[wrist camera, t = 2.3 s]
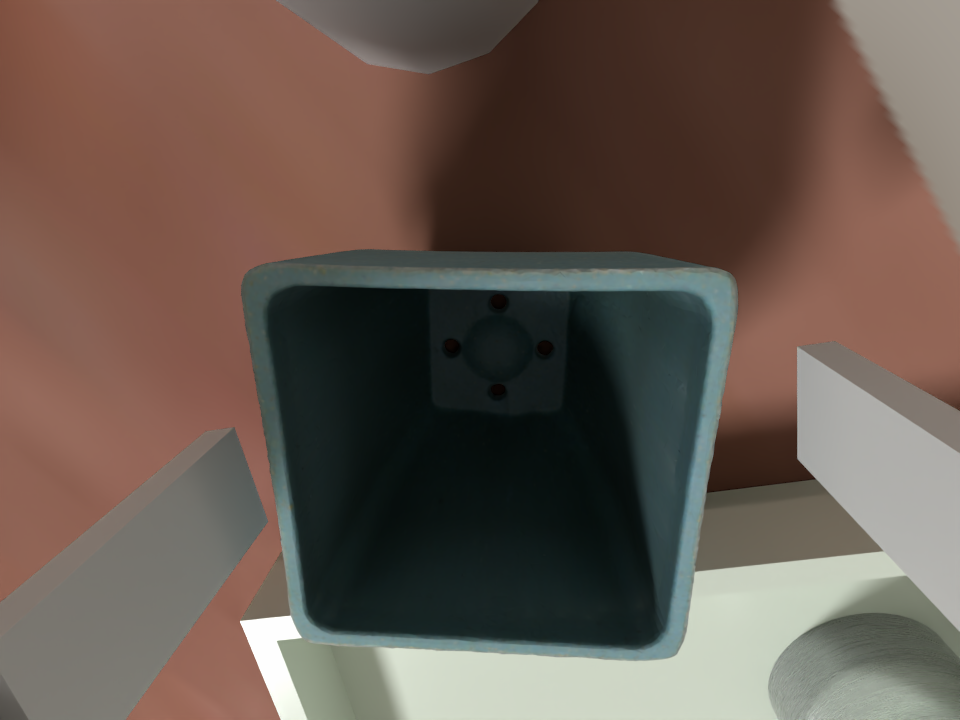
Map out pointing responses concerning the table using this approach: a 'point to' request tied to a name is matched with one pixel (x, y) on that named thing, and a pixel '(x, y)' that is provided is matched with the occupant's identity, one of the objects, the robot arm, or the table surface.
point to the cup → (414, 28)
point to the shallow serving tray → (623, 684)
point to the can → (867, 672)
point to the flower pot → (491, 445)
